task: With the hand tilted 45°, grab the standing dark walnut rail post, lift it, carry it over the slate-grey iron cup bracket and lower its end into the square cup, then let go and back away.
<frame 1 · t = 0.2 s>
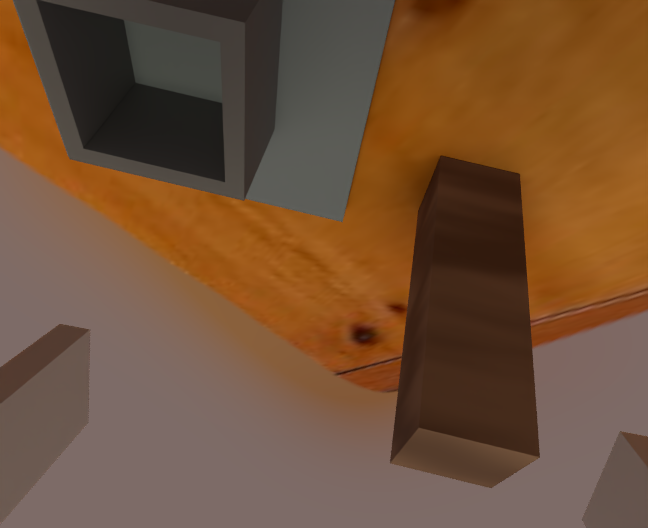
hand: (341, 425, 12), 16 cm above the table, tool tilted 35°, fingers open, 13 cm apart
walnut rail post: (465, 193, 26), on the table
cup bracket: (201, 22, 22), on the table
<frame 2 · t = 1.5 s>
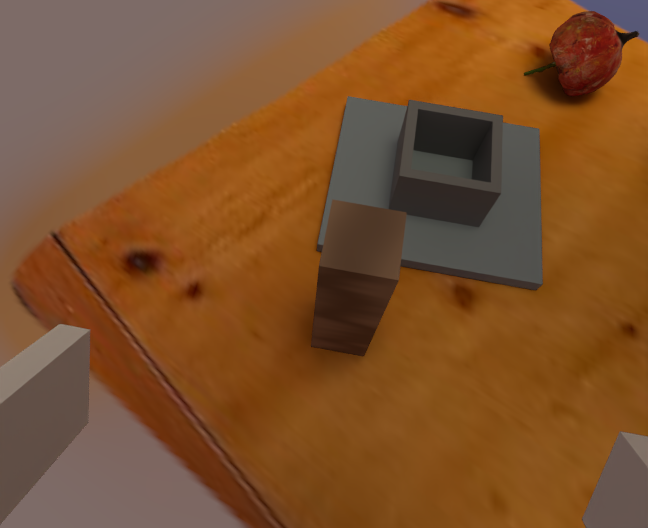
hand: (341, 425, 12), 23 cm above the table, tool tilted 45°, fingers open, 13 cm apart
walnut rail post: (341, 326, 38), on the table
cup bracket: (433, 190, 44), on the table
pomegranate: (560, 83, 51), on the table
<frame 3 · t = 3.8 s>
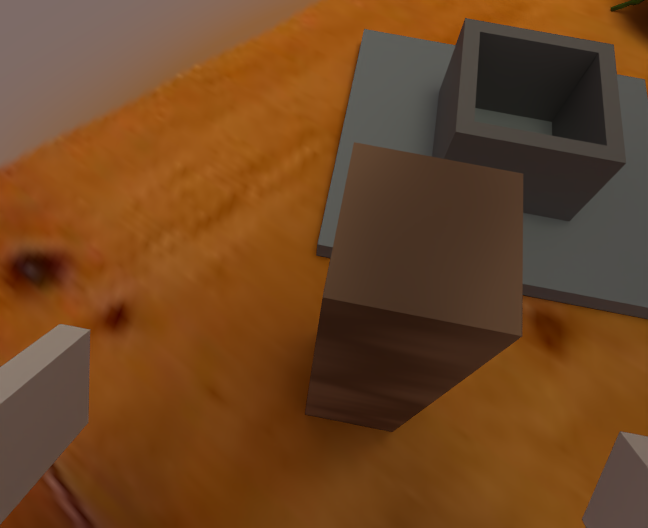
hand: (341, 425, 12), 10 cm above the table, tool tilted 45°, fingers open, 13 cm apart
walnut rail post: (355, 379, 23), on the table
cup bracket: (492, 165, 29), on the table
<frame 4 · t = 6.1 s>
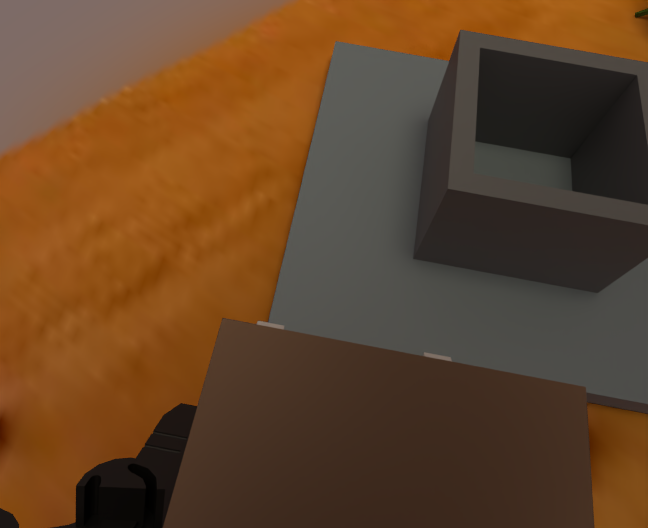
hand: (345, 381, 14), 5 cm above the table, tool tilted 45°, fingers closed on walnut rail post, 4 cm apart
walnut rail post: (313, 523, 17), on the table, touching gripper
cup bracket: (496, 213, 23), on the table
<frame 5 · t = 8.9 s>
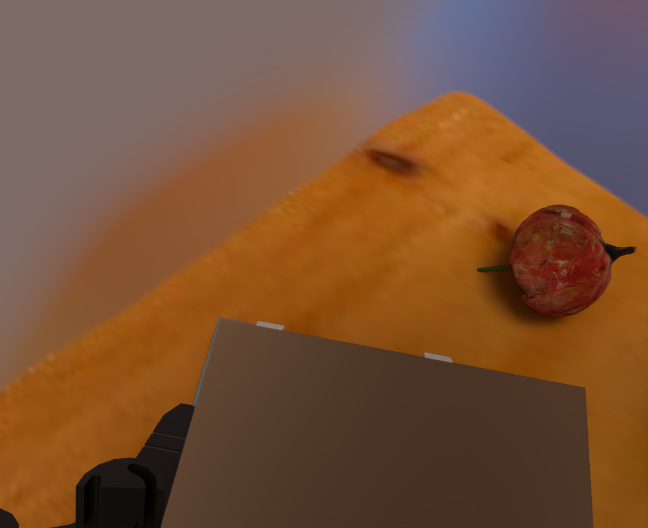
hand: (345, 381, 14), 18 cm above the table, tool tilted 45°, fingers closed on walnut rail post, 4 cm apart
walnut rail post: (313, 524, 17), point 13 cm above the table, touching gripper
pomegranate: (527, 283, 37), on the table
when the fingers open (7 cm above the table, at t = 12.0 s): walnut rail post drops 1 cm, resting on cup bracket.
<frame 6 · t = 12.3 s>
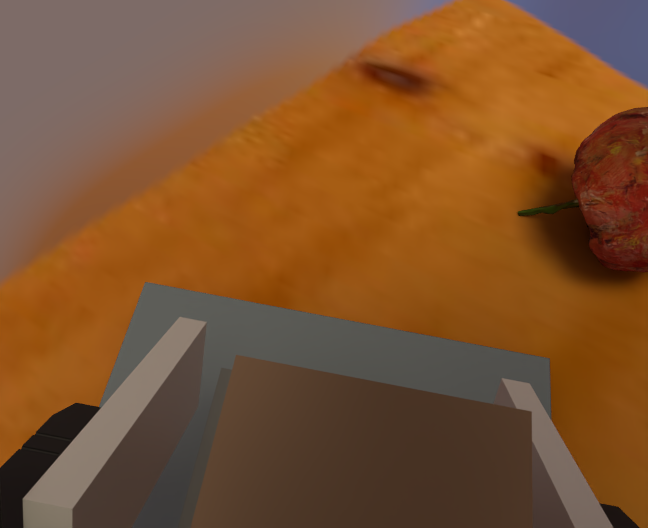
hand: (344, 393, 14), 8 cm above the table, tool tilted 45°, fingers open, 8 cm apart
walnut rail post: (312, 523, 18), point 1 cm above the table, touching cup bracket
cup bracket: (310, 521, 19), on the table
pomegranate: (588, 231, 26), on the table
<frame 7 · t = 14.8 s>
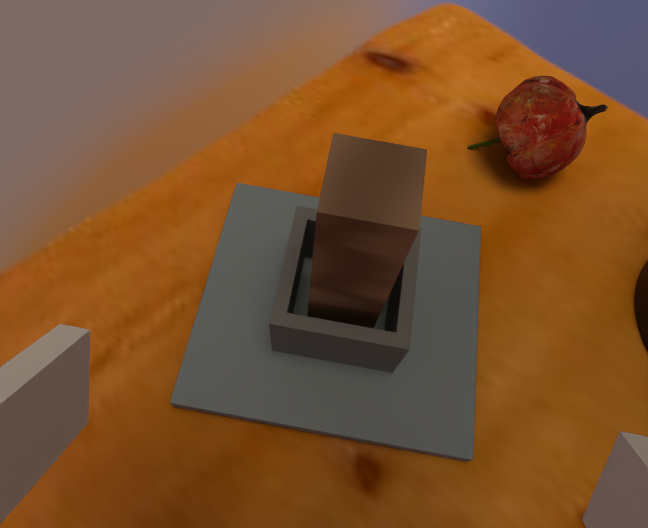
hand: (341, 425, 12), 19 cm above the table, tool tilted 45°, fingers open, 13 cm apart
walnut rail post: (341, 306, 33), point 1 cm above the table, touching cup bracket
cup bracket: (339, 312, 34), on the table
pomegranate: (513, 159, 41), on the table
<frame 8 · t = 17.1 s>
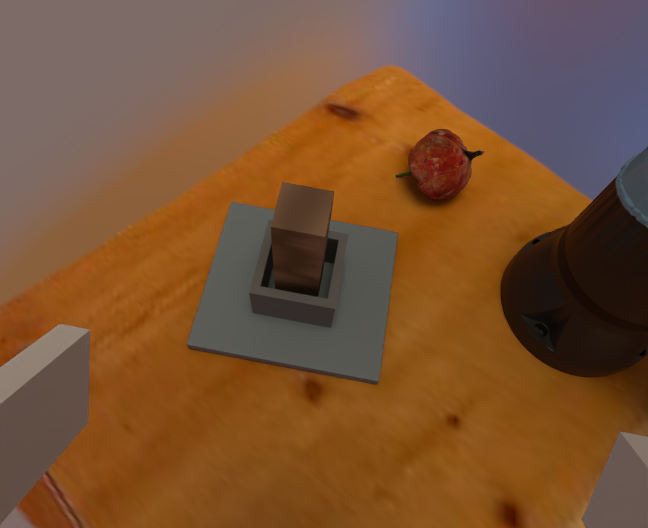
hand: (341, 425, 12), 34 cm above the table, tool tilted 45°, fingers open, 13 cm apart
walnut rail post: (299, 285, 49), point 1 cm above the table, touching cup bracket
cup bracket: (299, 289, 50), on the table
pomegranate: (428, 184, 58), on the table
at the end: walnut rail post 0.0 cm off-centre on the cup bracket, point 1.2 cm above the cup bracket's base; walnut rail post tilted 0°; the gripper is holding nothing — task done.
